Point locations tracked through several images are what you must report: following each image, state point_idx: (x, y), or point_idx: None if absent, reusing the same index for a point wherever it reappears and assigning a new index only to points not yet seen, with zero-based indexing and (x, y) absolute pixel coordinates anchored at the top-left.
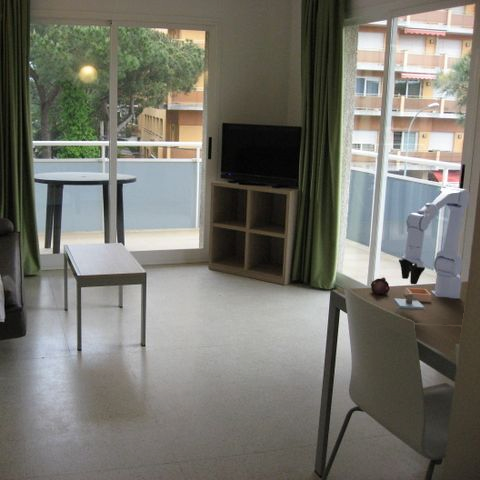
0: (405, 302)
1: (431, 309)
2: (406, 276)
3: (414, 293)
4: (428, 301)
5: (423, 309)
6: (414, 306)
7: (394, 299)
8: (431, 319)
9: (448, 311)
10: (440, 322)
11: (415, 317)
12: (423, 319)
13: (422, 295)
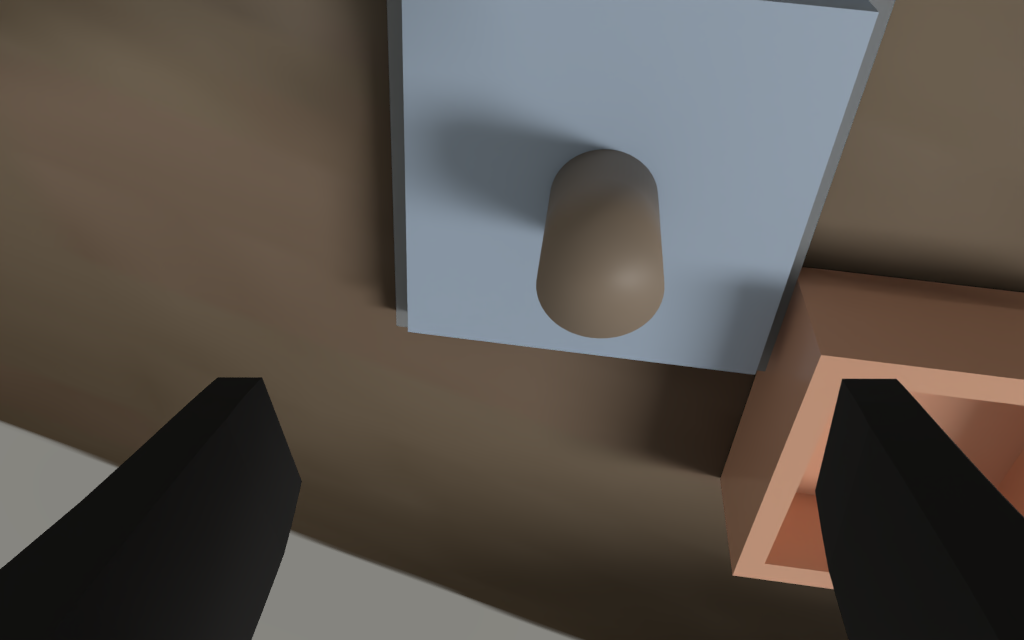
0: (612, 145)
1: (489, 404)
2: (836, 515)
3: (827, 407)
4: (730, 478)
5: (397, 303)
6: (409, 211)
7: (838, 4)
8: (82, 257)
9: (443, 523)
10: (14, 312)
11: (74, 73)
12: (33, 157)
13: (764, 477)
